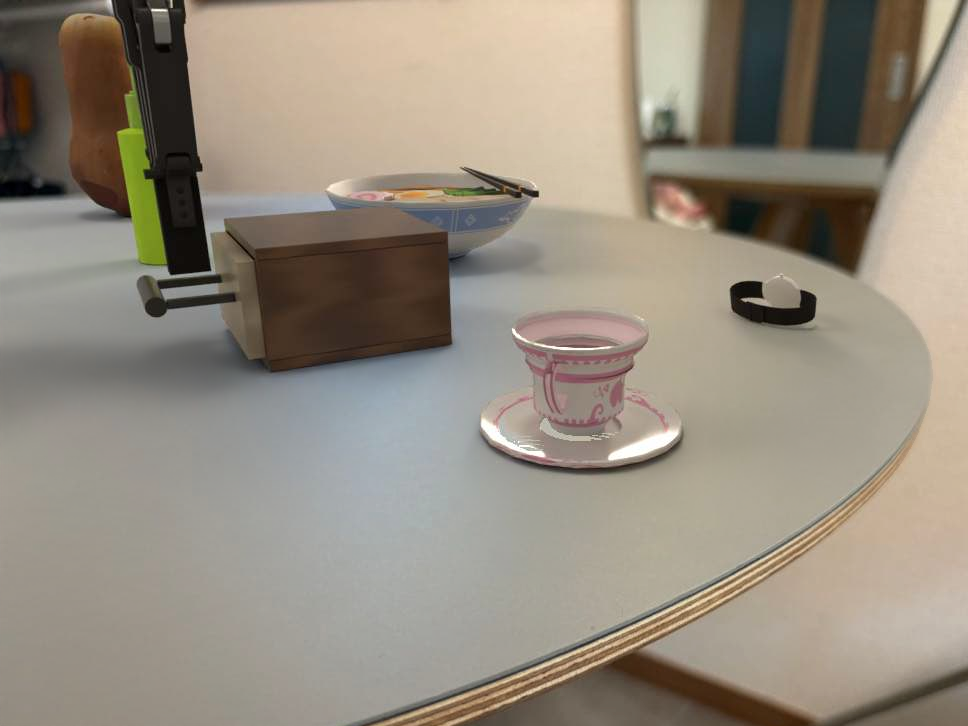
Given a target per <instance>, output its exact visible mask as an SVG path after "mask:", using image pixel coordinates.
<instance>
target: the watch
mask: <svg viewBox="0 0 968 726" xmlns="http://www.w3.org/2000/svg"><path fill="white" fill-rule="evenodd" d="M729 299H730V308H731V311H732V312H733V313H734V314H736V315H737V316H739V317H741V318H744V319H745V320H748V321H750V322H755V323H758V324H768V325H772V326H783V327H784V326H785V327H786V326H787V327H789V326H801V325H805V324H807V323H810V322H811V321H814V319H815V317H816V311H817V301H818V297H817V296H816V295H815V294H814V293H812V292H810V291H807V290H804V289H803V288H800V287H799V285H798V284H797V283H796V282H795V280H793V279H792V278H790V276H789V277H788V276H785V275H784V273H779V275H777V276H773V277H772V278H770V279H768V280H767V281H766V282H765V281H763V280H762V281H759V280H742V281H738V282H736V283H734V284H732V285H731V286H730V288H729ZM745 299H762V300H765V301H766V302H767V303H768V304H769V305H770V306H769V305H763V304H759V303H756V302H755V303H754V302H752V301H748V300H746V301H745Z"/></svg>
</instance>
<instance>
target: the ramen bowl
mask: <svg viewBox="0 0 968 726" xmlns="http://www.w3.org/2000/svg"><path fill="white" fill-rule="evenodd" d="M459 169H461V170H463V171H464V172H403V173H388V174H387V173H386V174H375V175H368V176H360V177H353V178H352V177H351V178H346V179H342V180H340V181H339V180H338V181H335V182H332V183H329V184H328V185H327V186H326V187H325V189H324V193H325V194H326V196H327V197H328V199H329V201H330V203H331V204H332V207H333V208H334V210H344V209H357V208H371V207H384V206H392V207H395V208H397V209H399V210H401V211H404V212H406V213H408V214H410V215H412V216H415V217H417V218H419V219H421V220H423V221H426V222H428V223H430V224H432V225H434V226H437V227H439V228H441V229H443V230H446V231H448V248H449V259H455V258H459V257H463V256H465V255H467V254H469V253H470V252H471V251H473V250H476V249H477V248H480V247H483V246H484V245H487V244H491V243H492V242H495V241H496V240H498V239H499V238H500V237H502V236H503V235H505V234H506V233H507V232H509V231H510V230H511V229H513V228H514V227H515V225H516V224H517V223H518V222H519V221H520V220H521V218H522V217H523V216H524V214H525V212H526V211H527V210H528V208H529V206H530V204H531V203H532V201H533V199H534V198H540V190H538V186H537V184H536V183H535V181H532V180H527V179H523V178H520V177H515V176H510V175H509V176H508V175H501V174H499V175H498V174H491V173H490V174H489V173H486V172H482V171H479V170H476V169H473V168H469V167H468V166H463V167H462V166H459Z"/></svg>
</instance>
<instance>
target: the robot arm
mask: <svg viewBox="0 0 968 726" xmlns="http://www.w3.org/2000/svg"><path fill="white" fill-rule="evenodd" d="M110 3H111V9H112V13H113V17H114V18H115V20H116V21H117V22H118V23H119V25H120V30H121V36H122V42H123V48H124V54H125V59H126V62H127V63H128V64H129V65H131V68H132V74H133V79H134V84H135V90H136V95H137V101H138V106H139V111H140V117H141V122H142V128H143V133H144V138H145V144H146V149H145V154H146V157H147V159H148V160H149V166H150V169H143V173H144V177H145V180H147V179H153V184H154V190H155V196H156V202H157V208H158V214H159V220H160V226H161V232H162V238H163V243H164V249H165V255H166V261H167V264H166V267H167V272H168V273H169V276H178V275H188V274H198V273H208V272H212V266H211V259H210V251H209V246H208V238H207V233H206V232H207V231H206V225H205V218H204V212H203V211H204V210H203V205H202V197H201V192H200V191H201V190H200V185H199V178H198V176H197V175H198V173H202V172H203V171H204V166H203V163H201V157H200V156H199V152H198V144H197V136H196V127H195V118H194V109H193V102H192V94H191V92H192V91H191V84H190V76H189V68H188V67H189V66H188V63H189V54H188V48H187V41H186V34H185V25H186V24H187V20H186V19H187V11H186V4H185V0H110Z"/></svg>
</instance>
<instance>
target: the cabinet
mask: <svg viewBox="0 0 968 726" xmlns="http://www.w3.org/2000/svg"><path fill="white" fill-rule="evenodd" d="M223 223H224V232H227V233H228V234H229V235H230V236H231V237H232V238H233V239H234V240H235V241H236V242H237V243H238V244H239V246H240V247H241V248H242V249H243V250H244V251H245V252H246V253H247V254H248V252H249V253H250V254H251V255H252V256H253V257H254V258H255V260H254V261H255V269H256V277H257V285H258V293H259V301H260V309H261V317H262V325H263V333H264V341H265V349H266V357H265V358H260V359H261V361H262V362H263V364H264V365H265V367H266V368H267V369H268V372H269V373H272V372H280V371H286V370H293V369H299V368H306V367H313V366H317V365H318V366H319V365H326V364H332V363H338V362H339V363H340V362H346V361H351V360H357V359H365V358H372V357H379V356H384V355H391V354H397V353H405V352H411V351H416V350H423V349H430V348H438V347H443V346H450V345H452V344H453V335H452V307H451V306H452V305H451V282H450V281H451V279H450V278H451V277H450V258H449V248H448V231H446V230H443V229H441V228H439V227H437V226H434V225H432V224H430V223H428V222H426V221H423V220H421V219H419V218H417V217H415V216H412V215H410V214H408V213H406V212H404V211H401V210H399V209H397V208H395V207H392V206H384V207H371V208H357V209H344V210H336V209H332V210H331V209H330V210H318V211H306V212H305V211H303V212H292V213H280V214H267V215H265V214H264V215H252V216H239V217H225V218H223Z"/></svg>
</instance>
